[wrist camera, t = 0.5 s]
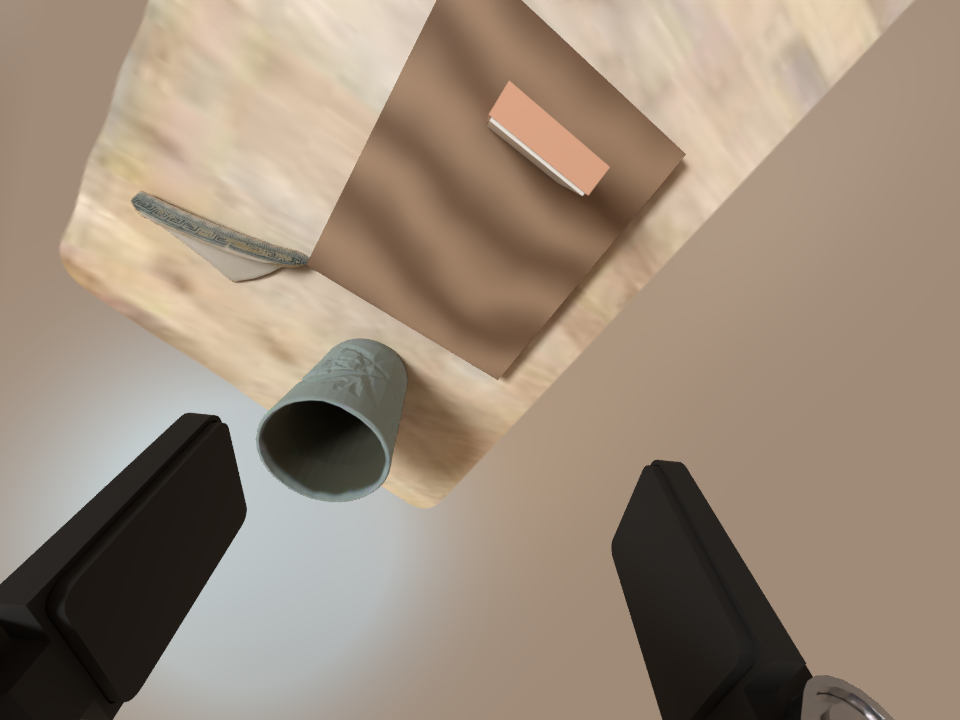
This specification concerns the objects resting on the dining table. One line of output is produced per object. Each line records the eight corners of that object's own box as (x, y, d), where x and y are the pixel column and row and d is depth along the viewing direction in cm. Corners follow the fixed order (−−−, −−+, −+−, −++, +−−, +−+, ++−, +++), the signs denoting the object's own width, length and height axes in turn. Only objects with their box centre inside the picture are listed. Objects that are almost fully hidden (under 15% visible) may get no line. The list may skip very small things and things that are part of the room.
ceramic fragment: (312, 255, 36) (294, 266, 32) (299, 305, 38) (281, 321, 34) (145, 182, 33) (105, 186, 30) (141, 241, 35) (104, 251, 32)
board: (464, -45, 26) (463, -55, 25) (677, 153, 31) (686, 154, 30) (312, 260, 35) (306, 265, 34) (497, 372, 41) (497, 380, 40)
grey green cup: (410, 420, 44) (388, 508, 33) (315, 409, 43) (262, 496, 33) (416, 336, 39) (392, 408, 28) (309, 323, 38) (245, 391, 28)
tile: (500, 97, 28) (509, 80, 21) (576, 160, 30) (610, 167, 22) (484, 124, 29) (486, 117, 21) (558, 184, 31) (585, 198, 23)
